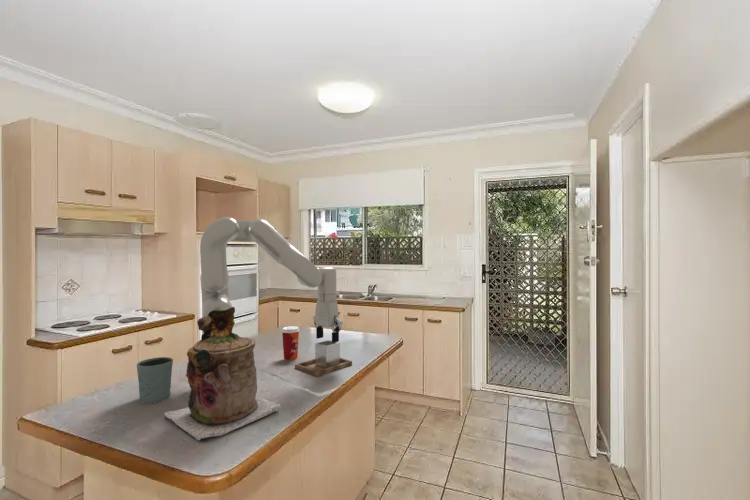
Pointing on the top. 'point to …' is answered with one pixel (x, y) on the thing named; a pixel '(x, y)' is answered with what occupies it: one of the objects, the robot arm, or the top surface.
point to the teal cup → (154, 379)
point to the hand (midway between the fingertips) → (327, 339)
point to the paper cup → (290, 342)
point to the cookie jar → (221, 381)
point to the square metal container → (327, 354)
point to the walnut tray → (317, 371)
